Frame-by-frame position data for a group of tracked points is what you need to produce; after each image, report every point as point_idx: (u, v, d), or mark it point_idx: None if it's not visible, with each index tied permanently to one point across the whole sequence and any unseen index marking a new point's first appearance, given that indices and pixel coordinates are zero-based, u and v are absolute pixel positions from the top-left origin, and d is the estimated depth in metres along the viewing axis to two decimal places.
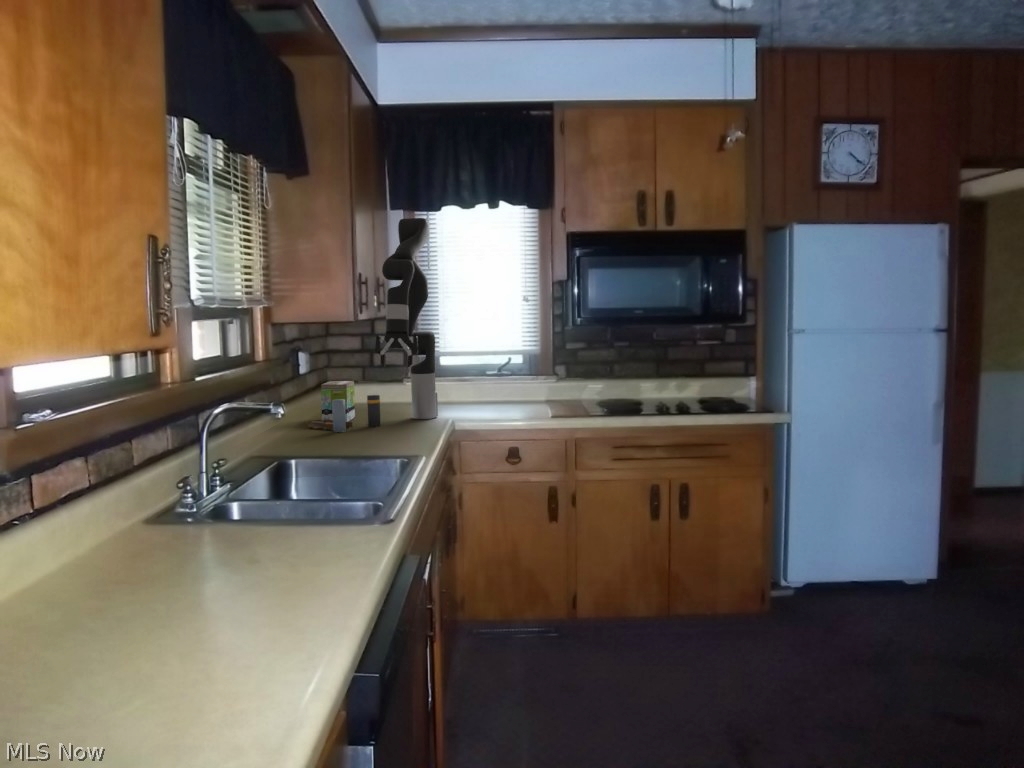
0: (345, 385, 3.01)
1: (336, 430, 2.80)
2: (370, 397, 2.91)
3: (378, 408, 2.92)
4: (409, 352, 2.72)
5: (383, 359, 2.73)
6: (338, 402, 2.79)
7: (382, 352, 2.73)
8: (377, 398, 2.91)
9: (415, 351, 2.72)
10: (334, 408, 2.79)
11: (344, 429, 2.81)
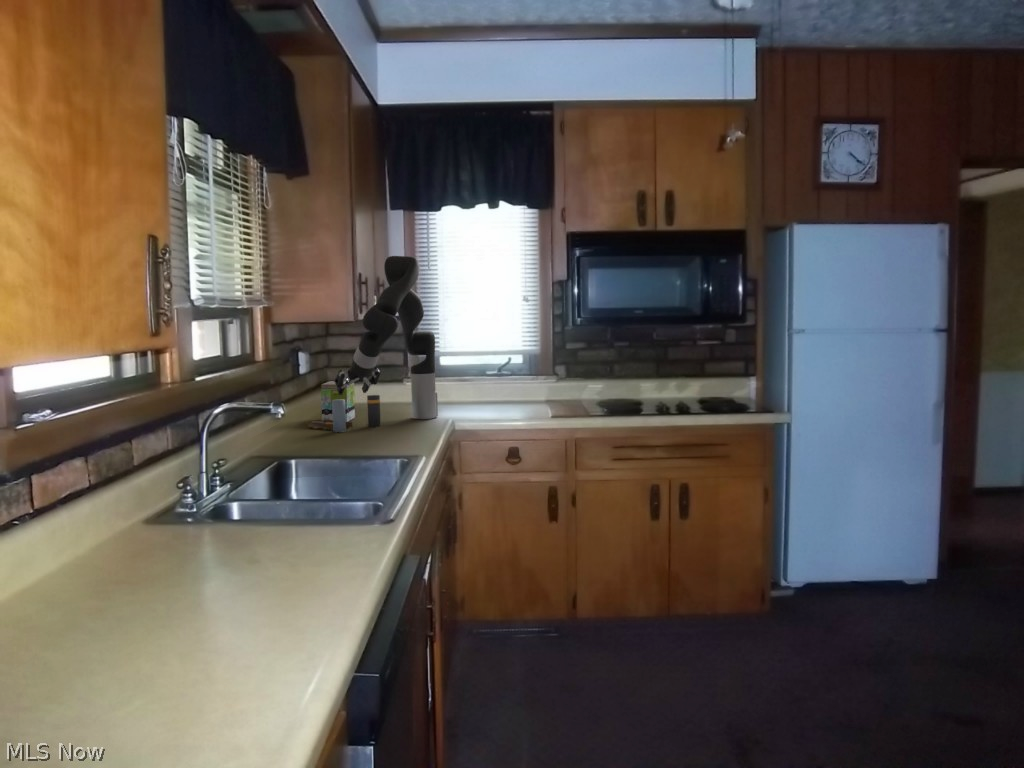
0: None
1: (336, 430, 2.80)
2: (370, 397, 2.91)
3: (378, 408, 2.92)
4: (369, 384, 2.70)
5: (343, 390, 2.67)
6: (338, 402, 2.79)
7: (343, 386, 2.65)
8: (377, 398, 2.91)
9: (375, 383, 2.71)
10: (334, 408, 2.79)
11: (344, 429, 2.81)
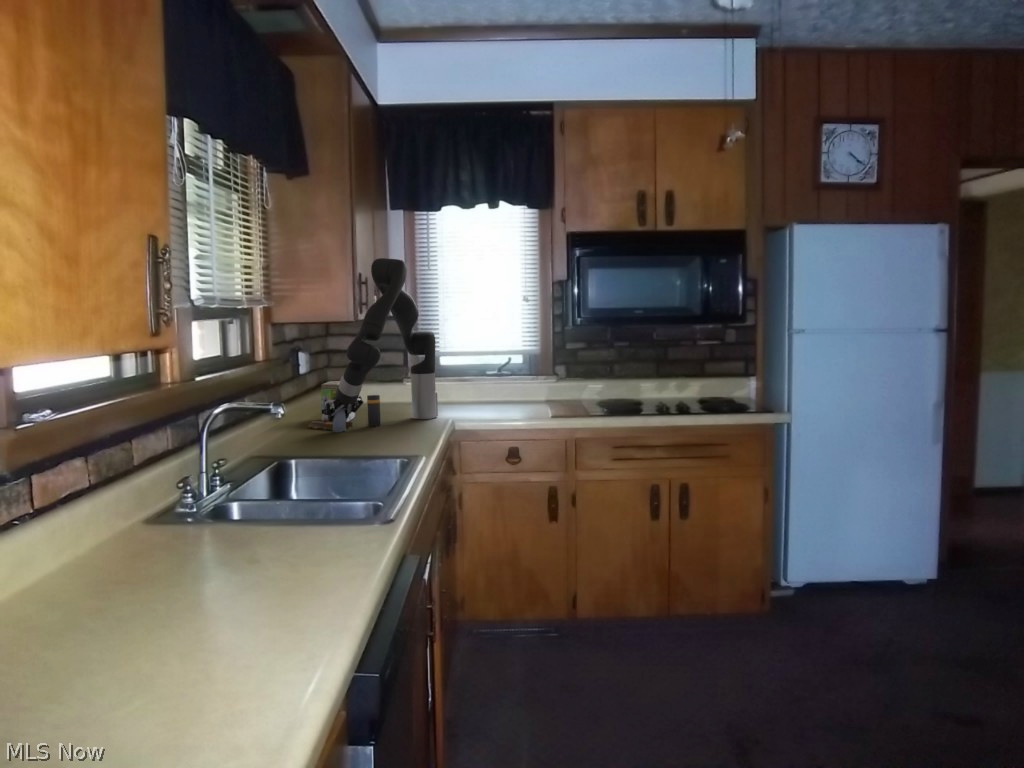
0: None
1: (336, 430, 2.80)
2: (370, 397, 2.91)
3: (378, 408, 2.92)
4: (349, 412, 2.81)
5: (333, 418, 2.80)
6: None
7: (333, 414, 2.78)
8: (377, 398, 2.91)
9: (354, 411, 2.82)
10: None
11: (344, 429, 2.81)
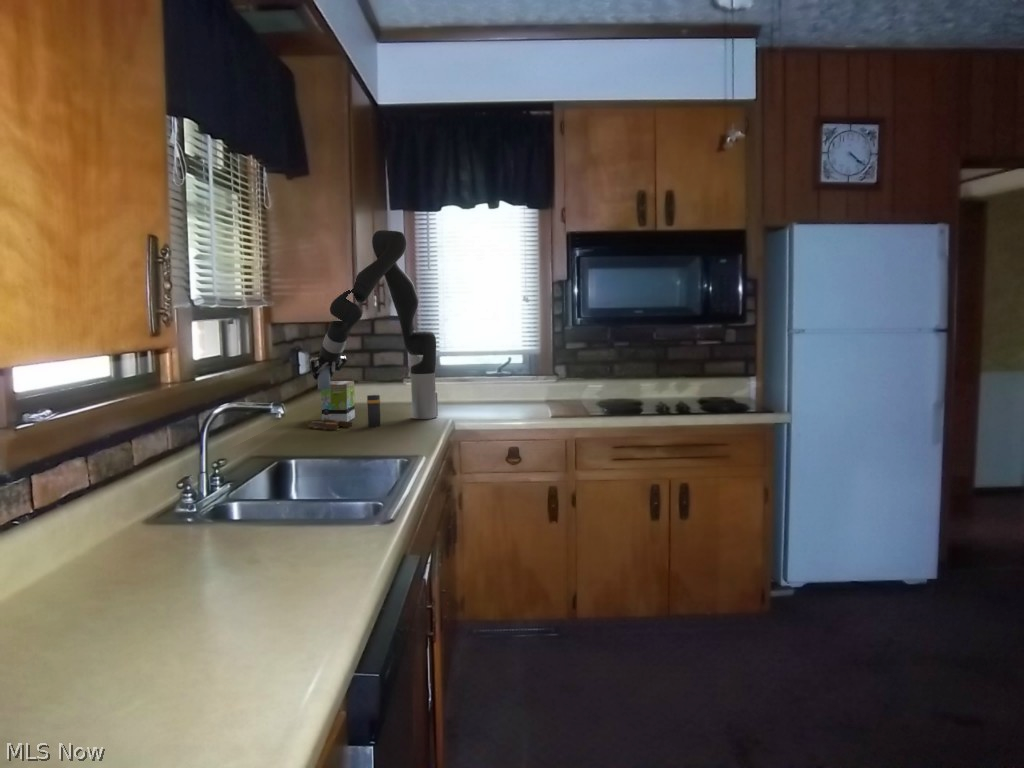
0: (345, 385, 3.01)
1: (321, 388, 2.90)
2: (370, 397, 2.91)
3: (378, 408, 2.92)
4: (333, 370, 2.91)
5: (318, 375, 2.89)
6: None
7: (318, 371, 2.88)
8: (377, 398, 2.91)
9: (338, 369, 2.92)
10: None
11: (328, 386, 2.91)
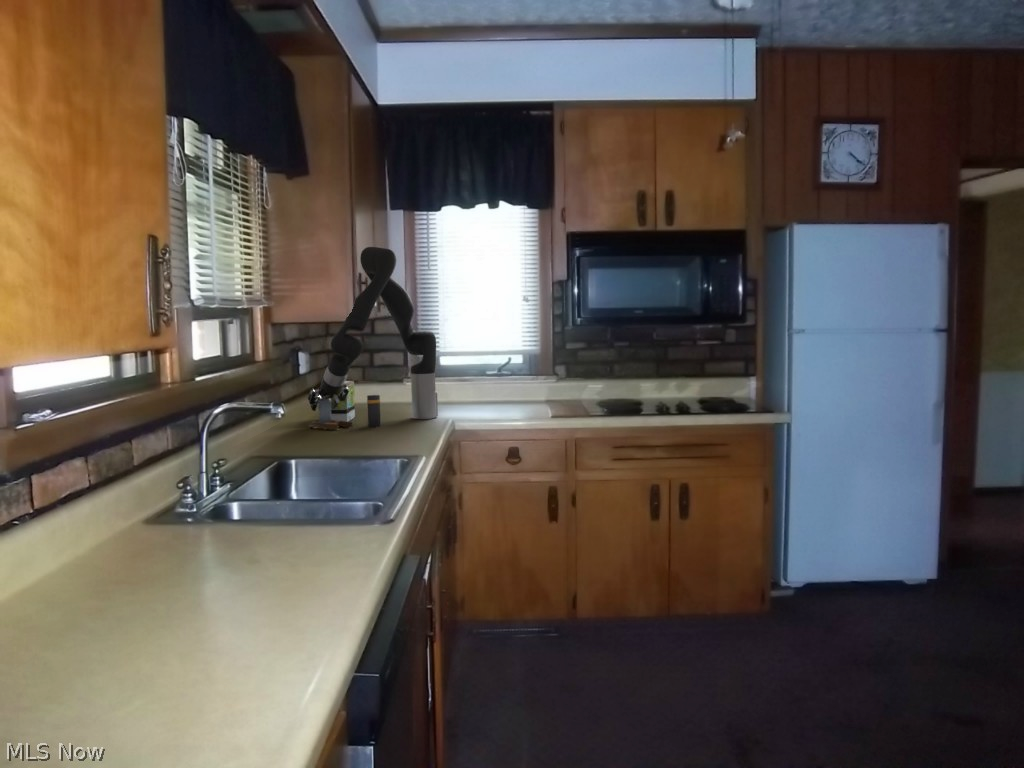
0: (345, 385, 3.01)
1: None
2: (370, 397, 2.91)
3: (378, 408, 2.92)
4: (337, 401, 2.92)
5: None
6: (324, 399, 2.90)
7: (316, 403, 2.88)
8: (377, 398, 2.91)
9: (343, 400, 2.93)
10: (320, 404, 2.90)
11: None
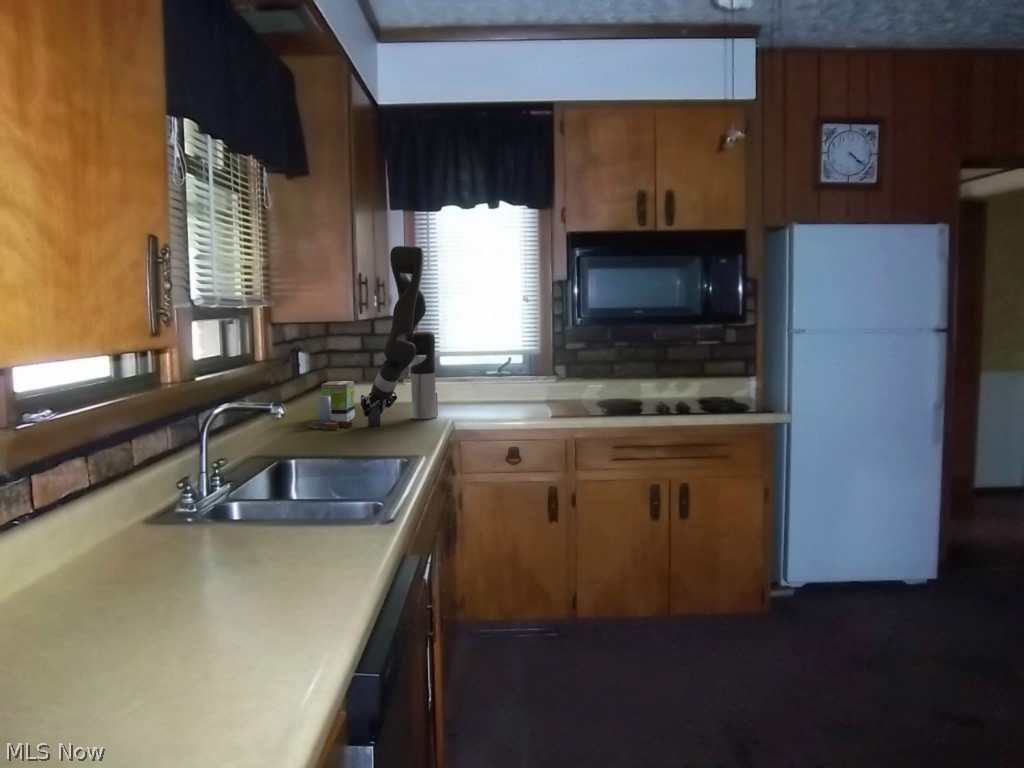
0: (345, 385, 3.01)
1: None
2: None
3: (378, 408, 2.92)
4: (383, 407, 2.93)
5: (368, 412, 2.91)
6: (324, 399, 2.90)
7: (369, 409, 2.90)
8: None
9: (388, 406, 2.94)
10: (320, 404, 2.90)
11: None
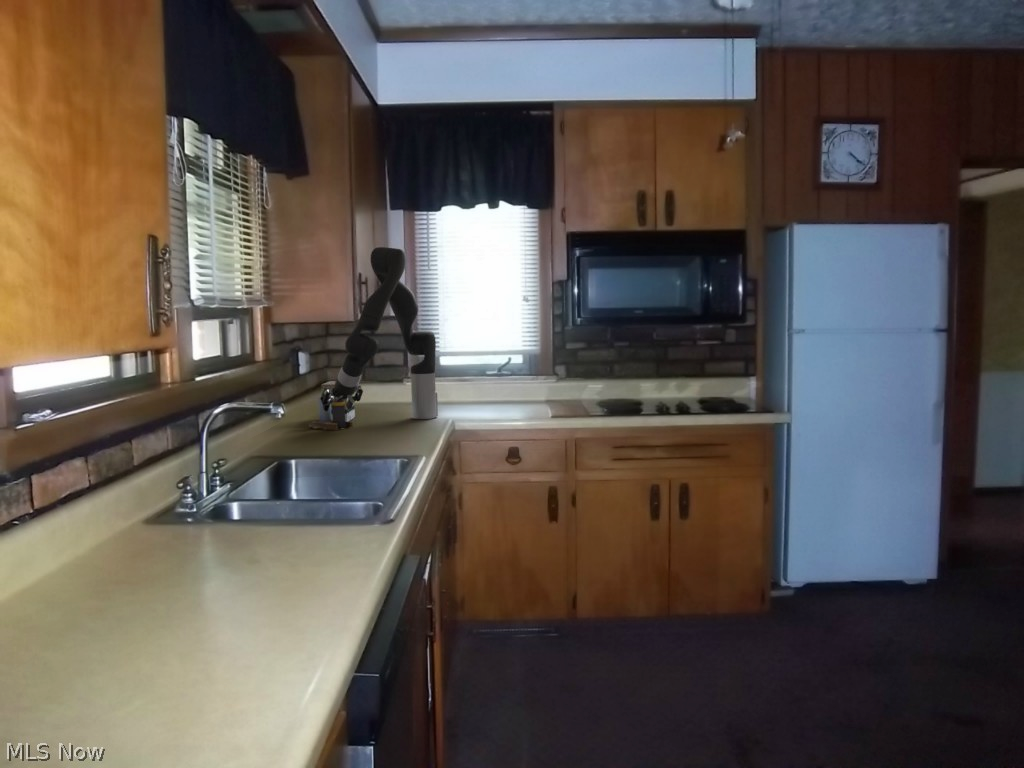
0: None
1: None
2: None
3: (343, 410, 2.87)
4: (353, 401, 2.88)
5: (328, 407, 2.85)
6: None
7: (328, 403, 2.83)
8: (342, 400, 2.87)
9: (358, 400, 2.89)
10: (320, 404, 2.90)
11: None
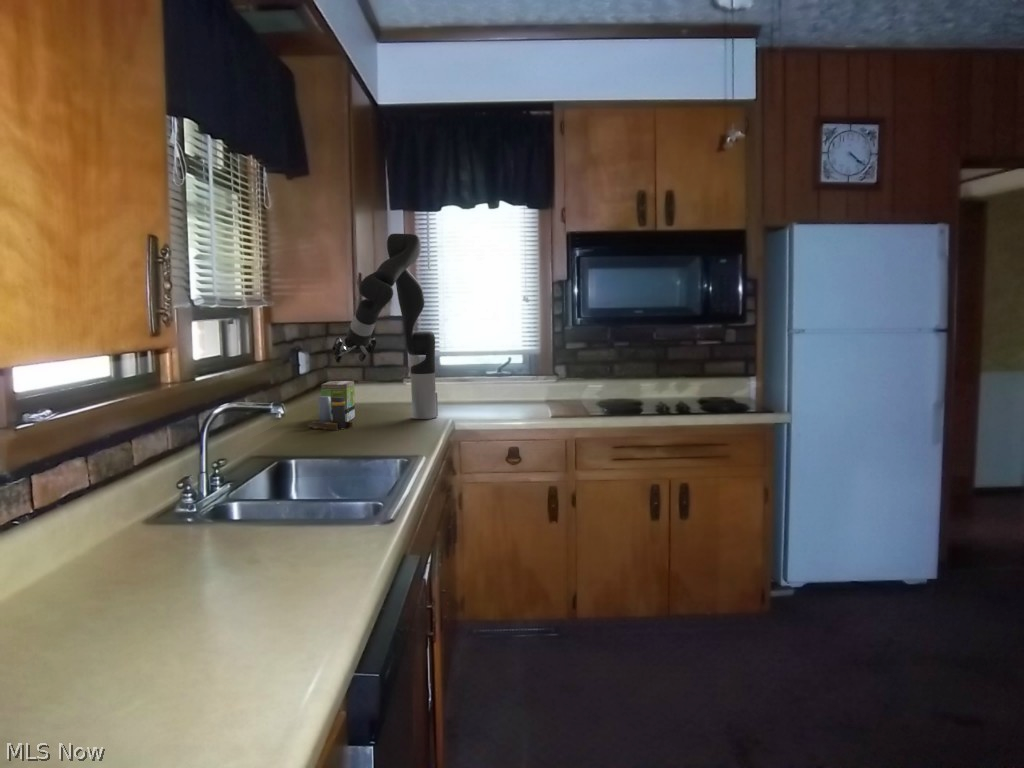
0: (345, 385, 3.01)
1: None
2: (334, 399, 2.86)
3: (343, 410, 2.87)
4: (366, 352, 2.77)
5: (340, 358, 2.74)
6: (324, 399, 2.90)
7: (341, 354, 2.72)
8: (342, 400, 2.87)
9: (371, 351, 2.78)
10: (320, 404, 2.90)
11: None
